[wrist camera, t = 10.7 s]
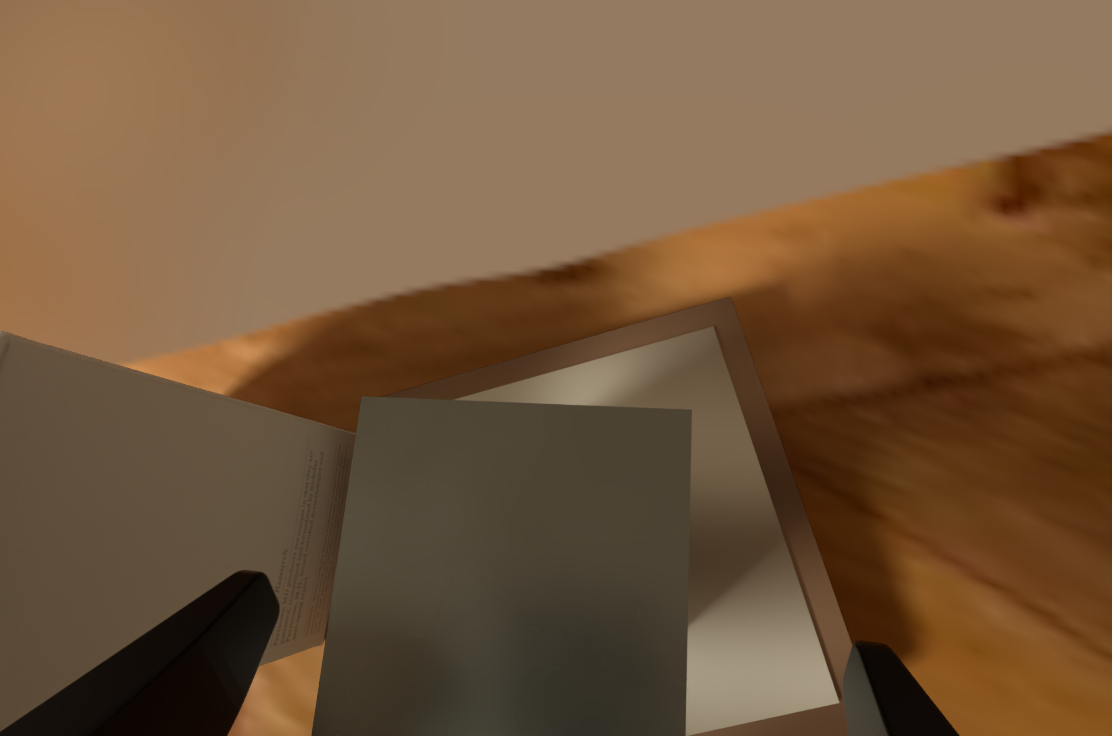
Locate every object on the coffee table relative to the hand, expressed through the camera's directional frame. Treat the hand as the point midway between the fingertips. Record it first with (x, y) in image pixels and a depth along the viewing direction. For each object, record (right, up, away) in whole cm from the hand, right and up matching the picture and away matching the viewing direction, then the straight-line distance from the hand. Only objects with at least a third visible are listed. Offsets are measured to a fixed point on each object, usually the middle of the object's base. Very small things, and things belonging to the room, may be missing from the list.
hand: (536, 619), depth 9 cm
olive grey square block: (+1, -1, +8) cm, 8 cm away
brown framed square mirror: (+2, -2, +11) cm, 11 cm away
